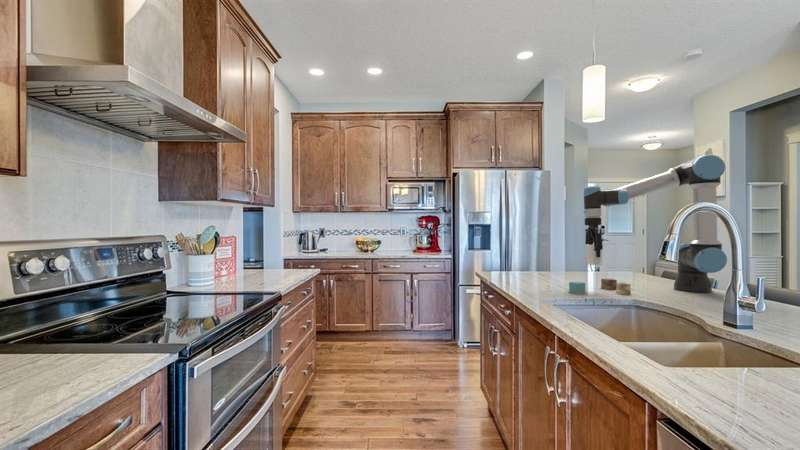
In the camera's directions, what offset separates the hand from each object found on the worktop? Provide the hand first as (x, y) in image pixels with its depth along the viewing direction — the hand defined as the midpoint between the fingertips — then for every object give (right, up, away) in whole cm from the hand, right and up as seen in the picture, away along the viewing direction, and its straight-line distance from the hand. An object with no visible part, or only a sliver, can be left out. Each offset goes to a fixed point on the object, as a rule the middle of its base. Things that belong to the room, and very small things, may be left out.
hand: (594, 262), depth 190 cm
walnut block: (+10, -14, +5) cm, 18 cm away
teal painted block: (-11, -14, -5) cm, 18 cm away
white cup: (0, -1, 0) cm, 1 cm away
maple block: (+10, -14, -8) cm, 19 cm away
